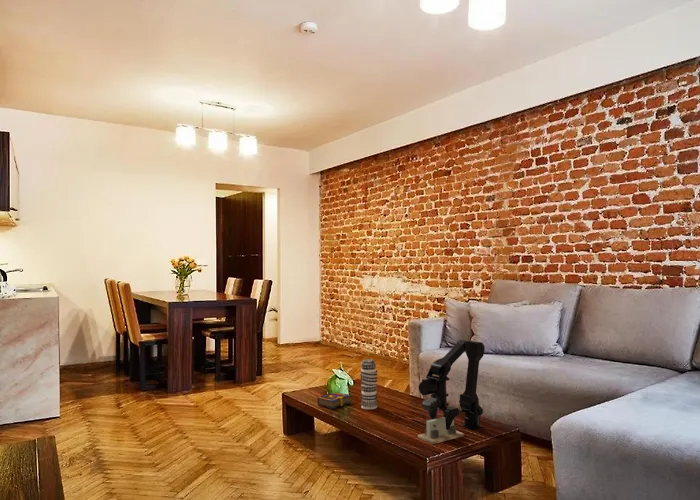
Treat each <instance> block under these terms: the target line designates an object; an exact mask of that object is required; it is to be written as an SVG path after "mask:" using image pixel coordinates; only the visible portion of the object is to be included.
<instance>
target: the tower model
mask: <svg viewBox="0 0 700 500" xmlns="http://www.w3.org/2000/svg"><path fill="white" fill-rule="evenodd" d="M360 364H361V368H360V372H359V374H360V386H361V394H360V395H361V397H360V399H361V400H360V402H361V407H360V408H361V409H364V410H375V409H377V408H378V403H377V402H378V396H377V395H378V394H377V382H378V380H377V379H378V377H377V376H378V370H377V367H376V364H377V363H376V362H375V360H373V359H372V358H371V359H369V358H367V359H363V360H362V361H361V362H360Z"/></svg>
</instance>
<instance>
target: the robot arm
mask: <svg viewBox="0 0 700 500" xmlns="http://www.w3.org/2000/svg"><path fill="white" fill-rule="evenodd" d="M485 348H486V346H485V345H484V343H483V342H482V341H476V340H469V341H468V340H463V339H459V340H457V342H456V344H454V346H453V347H451V348H450V350H449V351H448V352H447V353H446V354H445V355H444V356H443V357H442V358H439V359H436V360H434V361H433V362H432V363H431V364H430V368H429V370H428V372H427V374H426V377H425V378H422V379H421V382H420V383H419V385H418V392H419V393H420V394H421V395H422V396H428V395H430V398H429V397H428V398H427V399H423V401H422V402H421V406H422V408H423V409H424V411H427V413H428V414H429V416H430V417H429V418H430V420H432V419H436V418H437V415H438V410H440V411H442V413H443V415H442V417H445V421H446V430H449V428H450V426H451V424H452V422H453V420H454V421H455V418H456V417H457V416H460V409H461V412H462V413H464V423H463V424H462V426H463V427H465V428H467V429H470V430H477V429H480V428H483V425H481V423H480V421H481V420H480V418H481V416H482V415H483V414H484V409H483V408H482V406H481V405H480V402H479V400H480V399H479V396H478V394H477V386H478V377H479V366H480V361H481V360H482V358H483V357H484V354H485ZM464 353H465V355H466V357H467V359H468V362H467V370H466V379H465V388H464V389H465V390H464V391H463V393H460V395H459V401H458V403H459V407H460V409H459V408H458V407H455V406H452V405H451V406H449V404H450V403H449V402H447V401H448V400H447V397H450V396H449V393H447V381H450V380H451V379H450V377H448V375H449V373H450V372H451V370H452V365H453V364H454V363H456V362H457V360H458V359H459V358H460V357H461V356H462V355H463V354H464Z"/></svg>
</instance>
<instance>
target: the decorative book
mask: <svg viewBox="0 0 700 500" xmlns="http://www.w3.org/2000/svg"><path fill="white" fill-rule="evenodd" d="M350 397H351V394H348V393H341V392H329V393H328V394H326V395H320V396H319V397H317V406H321V407H326V408H327V409H331V410H333V409H336V408H338V407H343V405H347V404H350V402H351V401H352V400H350Z"/></svg>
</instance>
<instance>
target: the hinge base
mask: <svg viewBox="0 0 700 500" xmlns="http://www.w3.org/2000/svg"><path fill="white" fill-rule="evenodd" d="M431 432H432V438H428V437H427V427H426V428H424V433H420V434H417V438H419V439H420V440H422V441H425V442H426V443H428V444H431V445H436V444H438V443H442V442H446V441H450V440H453V439H459V438H462V437H464V436H465V433H463V432H460V431H459V430H457V427H456V426H455V425H454V426H451V427H450V428H449V433H448V434H445V435H441V436H439V431H438V430H435V431H431Z"/></svg>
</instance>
